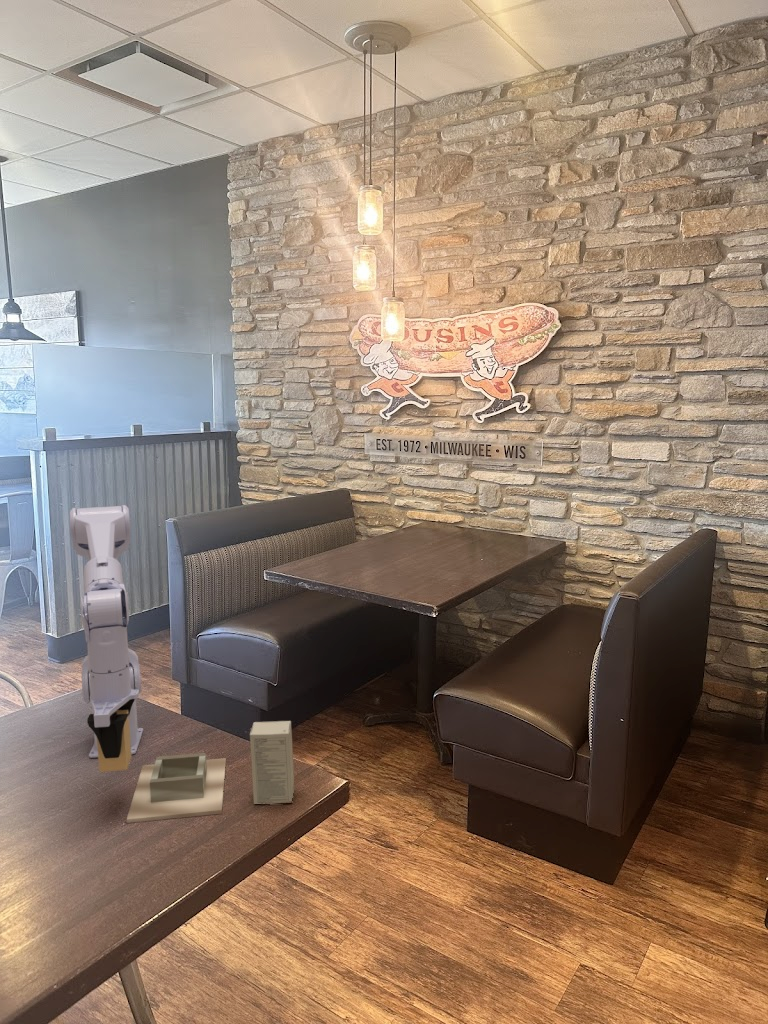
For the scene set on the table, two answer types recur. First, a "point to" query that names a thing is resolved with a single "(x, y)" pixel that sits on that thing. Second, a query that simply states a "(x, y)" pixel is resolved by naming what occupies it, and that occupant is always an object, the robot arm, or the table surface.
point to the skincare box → (272, 762)
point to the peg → (125, 753)
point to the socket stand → (178, 788)
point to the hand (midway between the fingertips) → (115, 749)
